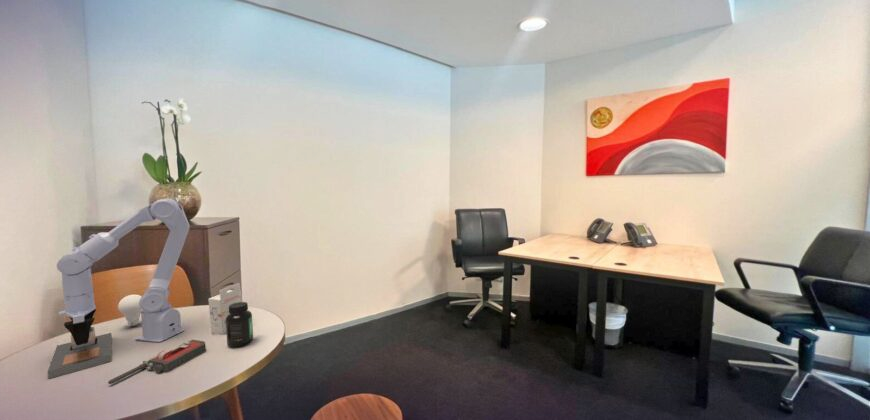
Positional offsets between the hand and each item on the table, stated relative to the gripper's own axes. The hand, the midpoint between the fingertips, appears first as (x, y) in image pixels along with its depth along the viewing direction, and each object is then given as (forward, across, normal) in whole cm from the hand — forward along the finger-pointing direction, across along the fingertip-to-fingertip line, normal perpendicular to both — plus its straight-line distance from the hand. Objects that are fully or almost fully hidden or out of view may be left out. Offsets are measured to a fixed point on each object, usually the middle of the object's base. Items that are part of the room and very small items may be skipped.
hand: (83, 339), depth 92 cm
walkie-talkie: (+4, +26, +16) cm, 31 cm away
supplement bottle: (+4, +28, +33) cm, 43 cm away
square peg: (+4, 0, 0) cm, 4 cm away
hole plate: (+3, +4, 0) cm, 6 cm away
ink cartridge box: (+4, +13, +33) cm, 36 cm away
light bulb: (+4, -12, +11) cm, 16 cm away
